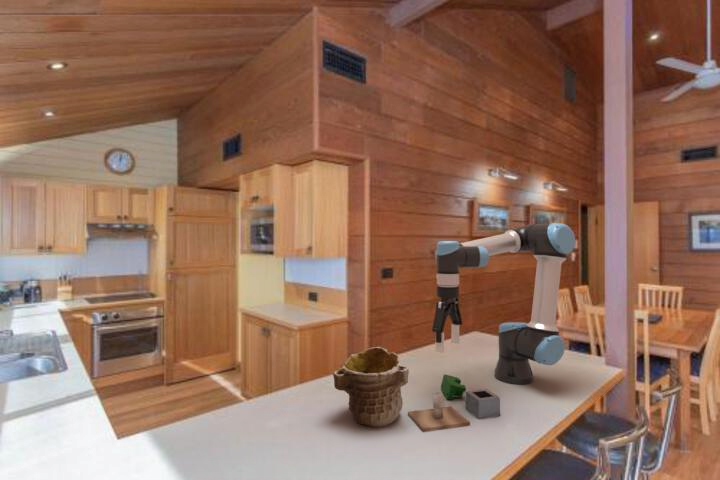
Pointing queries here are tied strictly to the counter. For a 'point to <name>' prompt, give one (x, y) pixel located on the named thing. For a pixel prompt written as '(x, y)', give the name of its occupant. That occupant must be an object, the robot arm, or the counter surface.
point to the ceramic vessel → (373, 385)
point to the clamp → (452, 387)
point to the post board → (438, 416)
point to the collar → (482, 403)
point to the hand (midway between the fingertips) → (447, 347)
